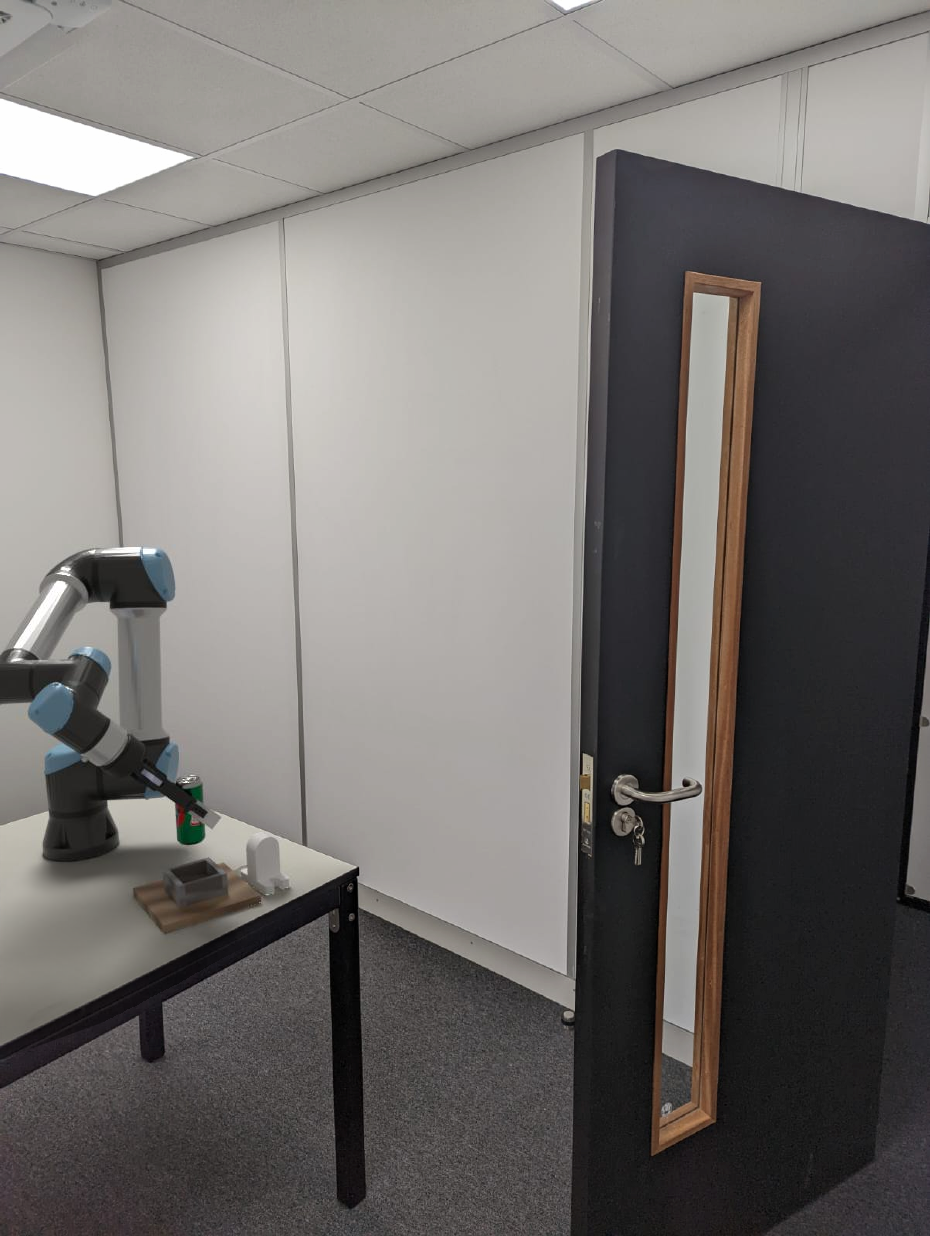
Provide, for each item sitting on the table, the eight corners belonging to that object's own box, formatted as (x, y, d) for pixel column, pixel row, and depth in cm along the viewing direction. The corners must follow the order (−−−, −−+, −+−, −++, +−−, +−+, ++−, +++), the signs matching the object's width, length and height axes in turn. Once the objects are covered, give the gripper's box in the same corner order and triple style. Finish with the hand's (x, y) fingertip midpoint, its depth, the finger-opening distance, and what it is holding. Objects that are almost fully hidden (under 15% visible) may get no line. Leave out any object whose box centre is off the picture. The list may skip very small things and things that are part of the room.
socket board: (133, 895, 165) (131, 868, 164) (223, 869, 176) (222, 843, 175) (164, 933, 151) (162, 904, 150) (261, 902, 162) (259, 875, 161)
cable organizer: (263, 871, 175) (261, 824, 173) (290, 887, 168) (288, 838, 166) (240, 879, 171) (237, 832, 170) (266, 896, 164) (264, 846, 163)
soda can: (197, 847, 158) (193, 784, 156) (171, 845, 159) (168, 782, 157) (210, 836, 163) (207, 775, 161) (186, 834, 164) (182, 773, 162)
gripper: (85, 755, 156) (180, 821, 169) (113, 781, 142) (215, 850, 154) (113, 722, 159) (205, 789, 171) (144, 743, 145) (242, 815, 157)
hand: (210, 818), depth 163 cm, fingers closed on soda can, 5 cm apart
